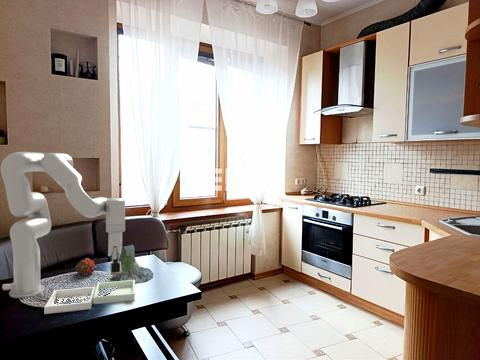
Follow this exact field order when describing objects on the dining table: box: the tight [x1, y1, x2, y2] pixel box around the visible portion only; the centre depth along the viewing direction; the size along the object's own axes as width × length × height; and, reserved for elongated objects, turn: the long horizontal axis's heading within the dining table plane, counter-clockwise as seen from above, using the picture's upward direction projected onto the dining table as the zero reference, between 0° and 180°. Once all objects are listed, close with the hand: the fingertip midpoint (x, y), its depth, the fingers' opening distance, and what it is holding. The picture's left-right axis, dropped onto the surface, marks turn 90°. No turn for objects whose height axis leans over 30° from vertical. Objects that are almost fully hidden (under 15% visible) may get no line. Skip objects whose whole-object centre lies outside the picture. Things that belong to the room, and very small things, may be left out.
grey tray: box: [43, 286, 97, 315], centre depth 127 cm, size 16×16×3 cm
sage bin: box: [92, 280, 136, 305], centre depth 135 cm, size 16×16×3 cm
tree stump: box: [112, 244, 154, 284], centre depth 157 cm, size 18×20×18 cm
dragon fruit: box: [74, 257, 96, 276], centre depth 159 cm, size 8×8×12 cm
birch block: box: [109, 261, 122, 276], centre depth 135 cm, size 4×4×4 cm
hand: (116, 269), depth 135 cm, fingers closed on birch block, 4 cm apart
